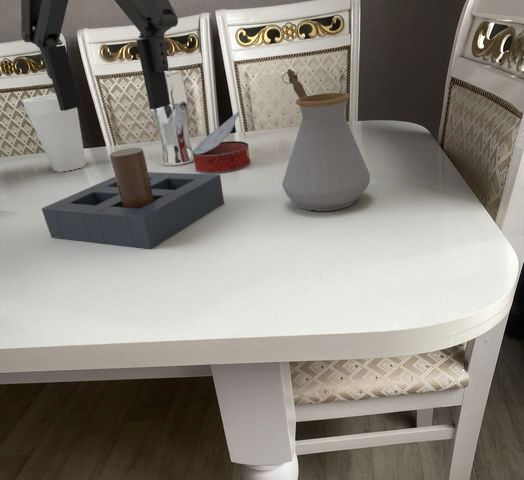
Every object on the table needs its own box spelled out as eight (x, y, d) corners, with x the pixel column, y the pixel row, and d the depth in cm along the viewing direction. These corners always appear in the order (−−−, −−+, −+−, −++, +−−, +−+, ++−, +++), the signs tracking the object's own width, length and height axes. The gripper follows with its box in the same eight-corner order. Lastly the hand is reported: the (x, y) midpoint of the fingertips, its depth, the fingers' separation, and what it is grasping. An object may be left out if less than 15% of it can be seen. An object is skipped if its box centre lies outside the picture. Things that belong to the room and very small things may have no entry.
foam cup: (101, 159, 108) (82, 90, 101) (80, 172, 101) (59, 98, 94) (59, 162, 110) (38, 95, 103) (36, 175, 103) (12, 103, 96)
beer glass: (174, 156, 104) (158, 71, 96) (204, 156, 101) (190, 69, 93) (153, 166, 99) (134, 77, 90) (184, 166, 96) (167, 74, 88)
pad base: (51, 237, 71) (41, 208, 68) (132, 197, 83) (126, 171, 81) (151, 249, 63) (143, 216, 61) (224, 202, 75) (220, 174, 73)
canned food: (239, 197, 92) (221, 152, 83) (192, 188, 96) (171, 144, 88) (266, 151, 96) (252, 104, 87) (220, 144, 100) (203, 98, 91)
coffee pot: (384, 206, 67) (386, 74, 58) (296, 222, 65) (286, 89, 57) (330, 168, 84) (326, 63, 76) (260, 180, 83) (249, 74, 75)
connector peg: (123, 235, 68) (102, 155, 63) (142, 224, 71) (124, 147, 65) (147, 238, 66) (128, 156, 61) (166, 226, 69) (149, 147, 64)
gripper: (-63, -117, 52) (14, 115, 63) (133, -181, 41) (182, 113, 53) (0, -109, 57) (60, 103, 69) (187, -165, 46) (221, 99, 58)
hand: (113, 108), depth 61 cm, fingers open, 13 cm apart
